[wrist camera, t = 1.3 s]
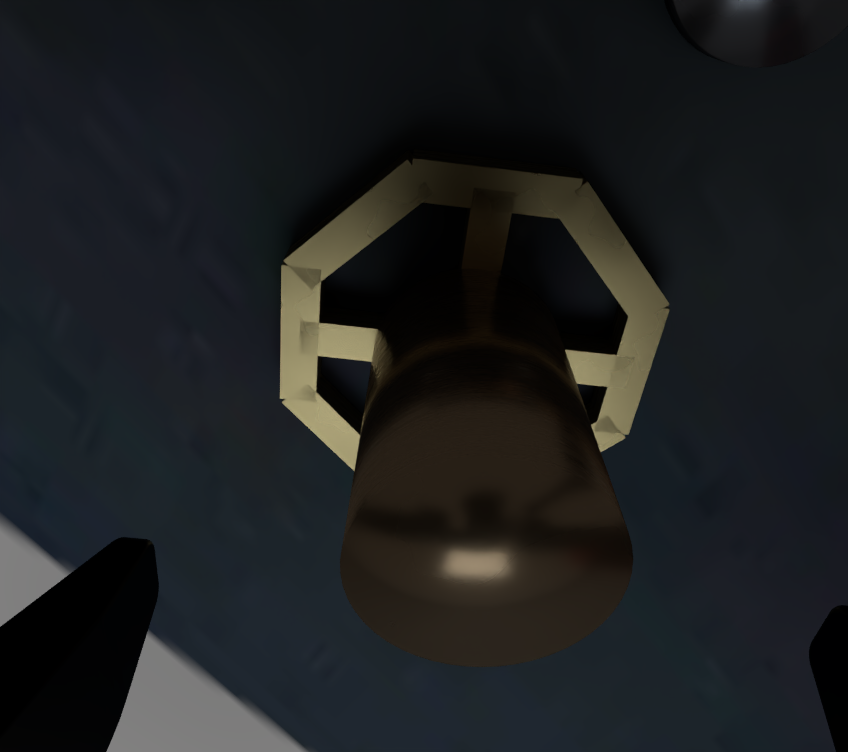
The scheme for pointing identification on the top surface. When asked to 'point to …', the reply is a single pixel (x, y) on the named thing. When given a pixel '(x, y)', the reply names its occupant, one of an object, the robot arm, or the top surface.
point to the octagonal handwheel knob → (474, 416)
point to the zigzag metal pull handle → (758, 28)
